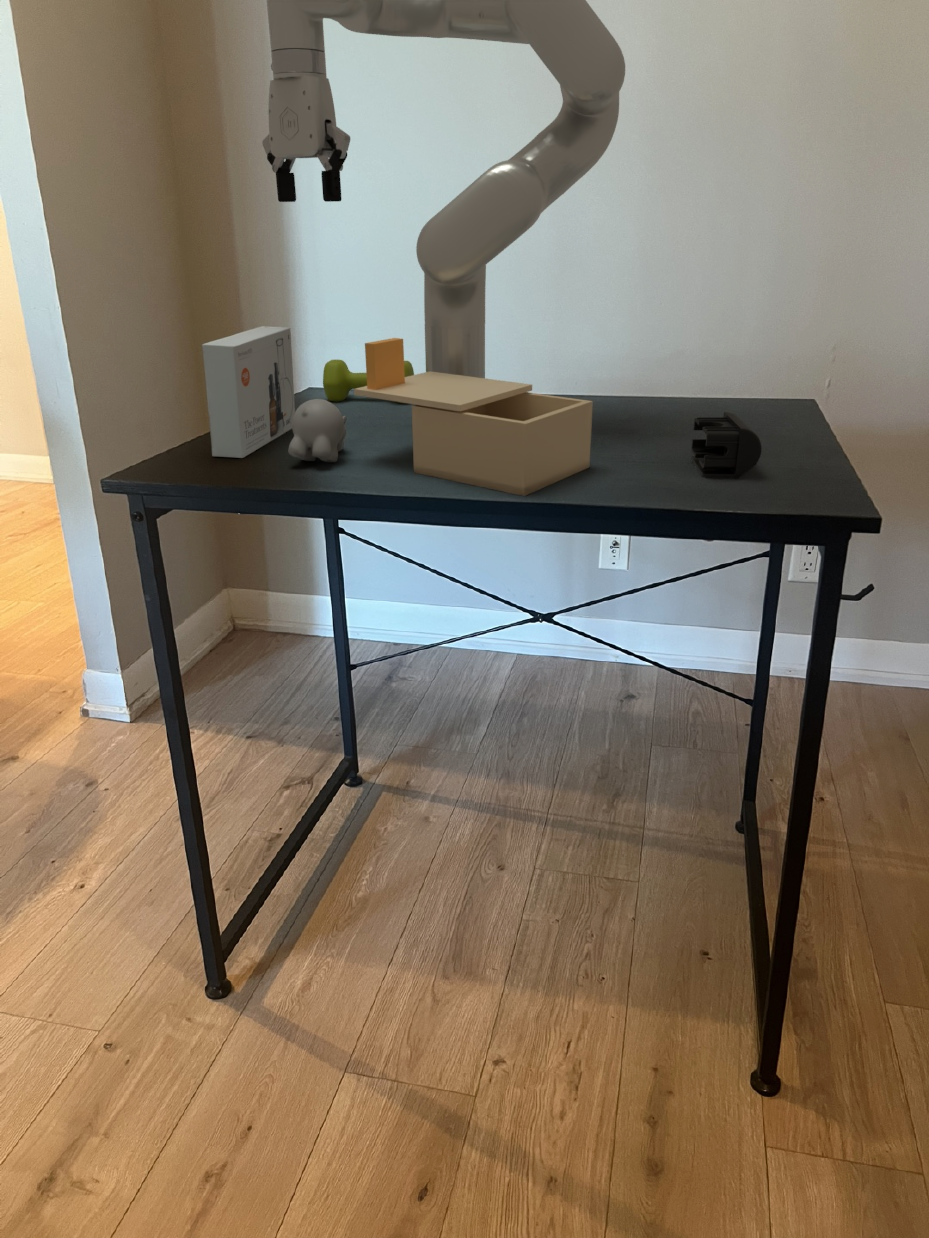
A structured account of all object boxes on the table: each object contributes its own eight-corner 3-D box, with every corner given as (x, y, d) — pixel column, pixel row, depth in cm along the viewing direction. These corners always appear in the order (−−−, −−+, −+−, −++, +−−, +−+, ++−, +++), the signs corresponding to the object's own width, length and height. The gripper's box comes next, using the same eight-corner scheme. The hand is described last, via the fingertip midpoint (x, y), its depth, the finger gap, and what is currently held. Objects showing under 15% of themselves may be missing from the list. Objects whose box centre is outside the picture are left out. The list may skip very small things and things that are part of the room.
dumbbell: (320, 404, 161) (317, 364, 158) (334, 395, 168) (331, 356, 165) (408, 407, 159) (407, 365, 156) (418, 397, 166) (417, 358, 163)
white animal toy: (361, 470, 131) (367, 412, 130) (326, 459, 119) (333, 396, 119) (317, 466, 133) (323, 408, 132) (278, 455, 121) (285, 392, 121)
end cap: (758, 480, 116) (765, 428, 113) (703, 479, 116) (708, 428, 113) (740, 459, 125) (746, 411, 122) (689, 459, 125) (694, 411, 122)
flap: (430, 376, 133) (428, 329, 130) (532, 390, 123) (533, 339, 120) (354, 394, 121) (351, 343, 119) (460, 411, 111) (459, 356, 108)
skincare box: (246, 460, 127) (233, 345, 120) (211, 458, 128) (196, 344, 121) (300, 426, 146) (291, 325, 139) (269, 424, 147) (258, 324, 140)
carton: (483, 448, 131) (483, 386, 128) (589, 467, 121) (592, 401, 118) (413, 472, 120) (411, 405, 116) (524, 496, 110) (525, 424, 106)
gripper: (238, 71, 128) (252, 202, 135) (323, 60, 118) (332, 201, 125) (278, 76, 133) (288, 202, 140) (362, 65, 123) (369, 201, 131)
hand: (309, 201), depth 133 cm, fingers open, 9 cm apart
